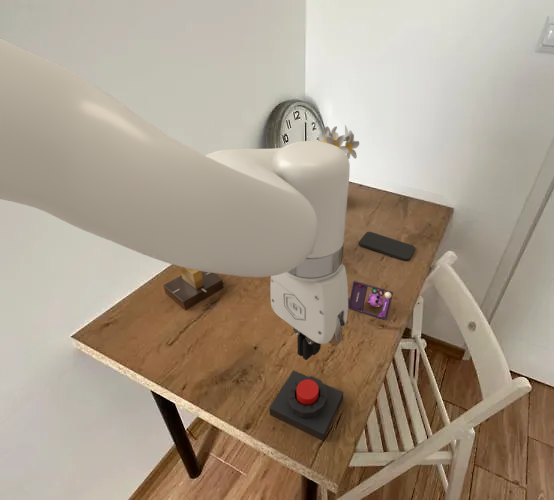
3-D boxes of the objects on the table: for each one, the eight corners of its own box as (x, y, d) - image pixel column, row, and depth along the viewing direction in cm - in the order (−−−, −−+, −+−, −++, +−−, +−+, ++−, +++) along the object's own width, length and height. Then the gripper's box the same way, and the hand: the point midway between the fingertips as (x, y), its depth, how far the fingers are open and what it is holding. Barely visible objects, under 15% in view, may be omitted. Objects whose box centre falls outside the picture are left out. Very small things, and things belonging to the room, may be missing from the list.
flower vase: (301, 211, 114) (301, 134, 99) (326, 189, 128) (329, 118, 113) (337, 222, 110) (343, 143, 95) (359, 198, 124) (367, 126, 109)
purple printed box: (352, 282, 78) (392, 293, 75) (358, 275, 82) (396, 285, 80) (347, 309, 80) (385, 321, 77) (353, 300, 84) (389, 312, 82)
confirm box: (269, 414, 59) (268, 401, 57) (293, 377, 65) (293, 363, 63) (323, 441, 56) (324, 428, 54) (342, 399, 62) (344, 386, 60)
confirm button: (292, 399, 58) (292, 393, 57) (303, 382, 61) (303, 376, 60) (312, 408, 57) (312, 402, 56) (321, 390, 60) (322, 384, 59)
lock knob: (204, 285, 80) (200, 269, 77) (196, 289, 79) (192, 273, 76) (190, 274, 83) (186, 258, 80) (182, 278, 81) (178, 262, 78)
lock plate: (187, 312, 77) (185, 303, 75) (163, 291, 81) (160, 282, 80) (226, 289, 83) (224, 280, 82) (201, 271, 88) (199, 262, 86)
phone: (408, 260, 95) (357, 242, 100) (408, 262, 96) (357, 245, 100) (416, 246, 101) (367, 230, 105) (415, 248, 101) (367, 232, 106)
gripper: (243, 239, 42) (255, 339, 53) (340, 298, 35) (331, 400, 46) (288, 216, 47) (290, 312, 58) (381, 264, 40) (365, 363, 51)
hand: (309, 351), depth 52 cm, fingers closed
